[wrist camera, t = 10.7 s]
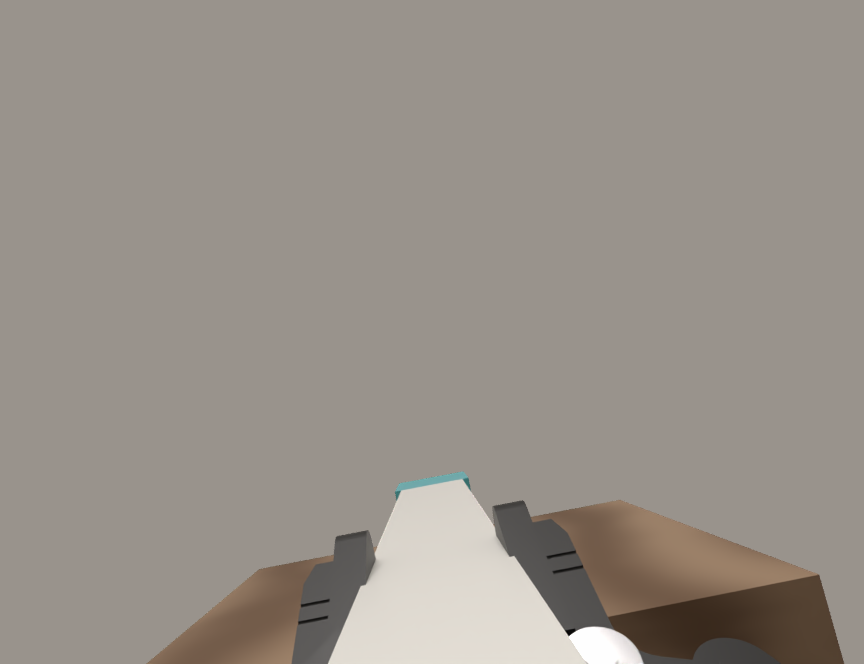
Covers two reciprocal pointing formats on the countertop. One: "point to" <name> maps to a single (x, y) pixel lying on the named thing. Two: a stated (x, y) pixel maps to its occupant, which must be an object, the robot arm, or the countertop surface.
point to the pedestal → (613, 582)
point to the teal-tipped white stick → (448, 590)
